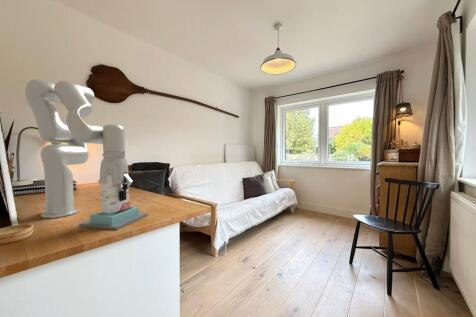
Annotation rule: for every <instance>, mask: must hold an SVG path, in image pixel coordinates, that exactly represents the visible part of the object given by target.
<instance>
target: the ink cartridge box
mask: <svg viewBox="0 0 476 317" xmlns="http://www.w3.org/2000/svg"><path fill="white" fill-rule="evenodd" d="M122 183H123V182H122ZM122 186H123V185H122ZM129 187H130V186H129ZM129 187H128V189H127V190H126V200H123V201H119V191H120V188H119V186H118V184H113V182H112V175H111V176H107V183H101V184H100V189H101V190H100V193H101V194H100V195H101V207H102V208H101V209H102V210H101V212H104V213H108V214H109V213H113V212H117V211H121V210H125V209H129V206H130V191H129V190H130V188H129Z"/></svg>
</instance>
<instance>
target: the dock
mask: <svg viewBox="0 0 476 317" xmlns="http://www.w3.org/2000/svg"><path fill="white" fill-rule="evenodd" d="M148 216H149V213H148V212H139V206H130V205H129V209H125V210H121V211H117V212H113V213H109V214H108V213H104V212H102V211H99V212H96V213H93V214H90V215H89V219H88V220H86V221H83V222H80V223H79V225H78V227H80V228H81V227H82V228H91V229H92V228H93V229H103V230H111V231H118V230H120V229H123V228H124V227H127V226H128V225H131V224H133V223H135V222H137V221H140V220H141V219H143V218H146V217H148Z"/></svg>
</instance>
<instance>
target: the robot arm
mask: <svg viewBox="0 0 476 317" xmlns="http://www.w3.org/2000/svg"><path fill="white" fill-rule="evenodd" d="M24 94H25V95H24V96H25V98H26V102H27V103H28V105H29V107H30V109H31V111H32V113H33V116H34V118H35V122H36V126H37V131H38V133H39V136H40V138H41V140H42V141H44V142H46V143H52V144H48V145H44V146H43V147H42V148H41V151H40V159H41V163H42V166H43V173H44V174H43V175H44V188H45V189H44V192H45V195H44V196H45V197H44V198H45V205H43V206H42V207H41V209H42V210H44V212H43V213H42V212H41V214H40V217H41V218H43V219H53V218H54V219H56V218H62V217H67V216H71V215H74V214H76V213H78V212H79V209H78V207H75V206H74V203H75V202H74V180H73V179H74V178H73V177H74V176H73V173H72V170H71V169H70V168H69V166H71V165H74V166H75V165H83V164H85V163H86V162H88V160H89V149H88V146H87V144H96V145H97V144H101V145H102V150H103V151H102V157H103V158H102V159H101V162H100V167H99V180H98V184H100V185H101V183H107V176H111V175H112V182H113V184H118V186H119V188H120V191H119V201H123V200H126V190H127V189H128V187H130V186H131V185H132V183H133V180H132V179H131V177H130V176H129V166H128V161H127V158H126V149H125V148H126V144H125V142H126V140H125V128H124V126H123V125H119V124H105V125H98V124H92V123H91V124H90V123H86V122H85V121H84V120H83V119H85V118H86V117H88V116H90V115H91V114H92V112H93V105H92V104H93V103H94V102H95V94H94V91H93V90H92V89H91V88H90V87H88V86H85V85H82V84H79V83H76V82H72V81H68V80H60V81H57V82H53V81H48V80H44V79H36V78H35V79H31V80H29V81H28V82H27V83H26V84H25V89H24ZM51 102H52V103H58V104H62V105H64V107H65V109H66V110H67V111H68V112H67V114H66V119H65V122H63V121H62V119H61V116H60V113H59V111H58V109H57V108H56V107H55V106H54V105H53V104H51ZM122 182H123V183H122ZM122 185H123V186H122Z"/></svg>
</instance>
